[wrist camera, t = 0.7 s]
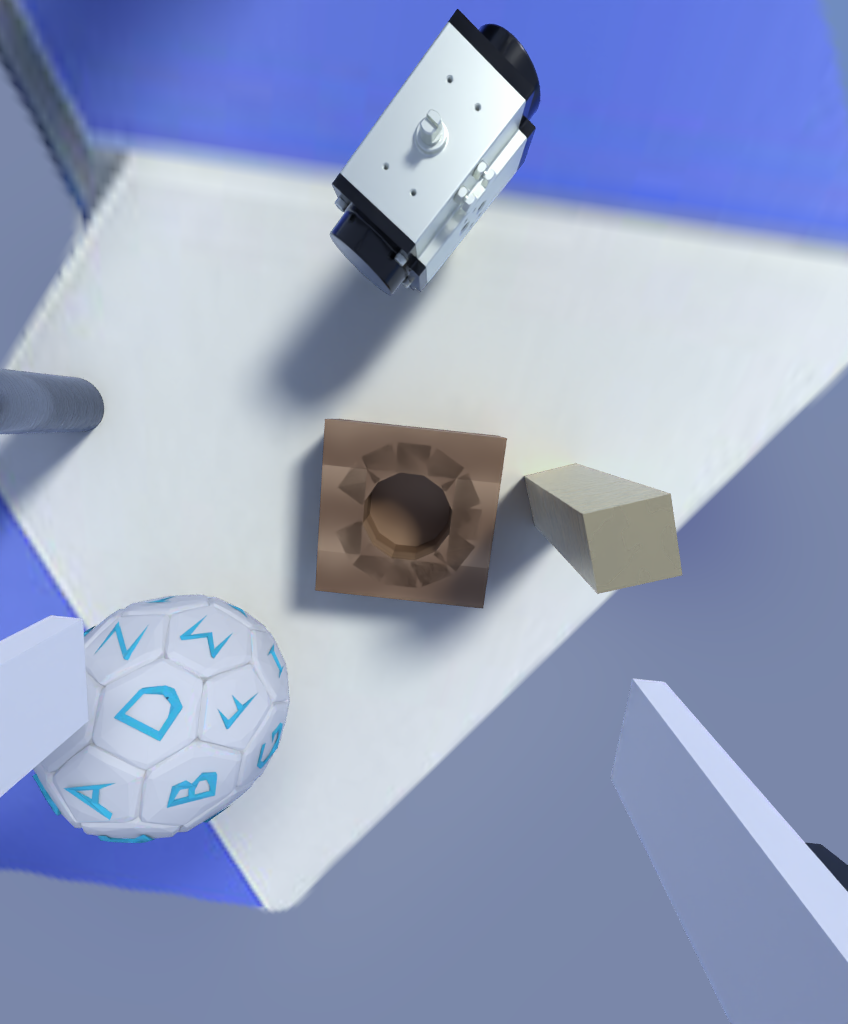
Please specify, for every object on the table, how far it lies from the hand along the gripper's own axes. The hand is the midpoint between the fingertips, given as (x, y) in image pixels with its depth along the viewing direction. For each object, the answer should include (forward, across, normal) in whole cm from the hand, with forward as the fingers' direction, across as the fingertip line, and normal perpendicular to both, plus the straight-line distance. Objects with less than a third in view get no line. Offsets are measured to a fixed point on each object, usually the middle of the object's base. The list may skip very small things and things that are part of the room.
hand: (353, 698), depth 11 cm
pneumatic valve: (+25, 0, +19) cm, 31 cm away
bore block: (+25, 0, 0) cm, 25 cm away
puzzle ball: (+25, -14, -14) cm, 32 cm away
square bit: (+25, +11, +2) cm, 27 cm away
